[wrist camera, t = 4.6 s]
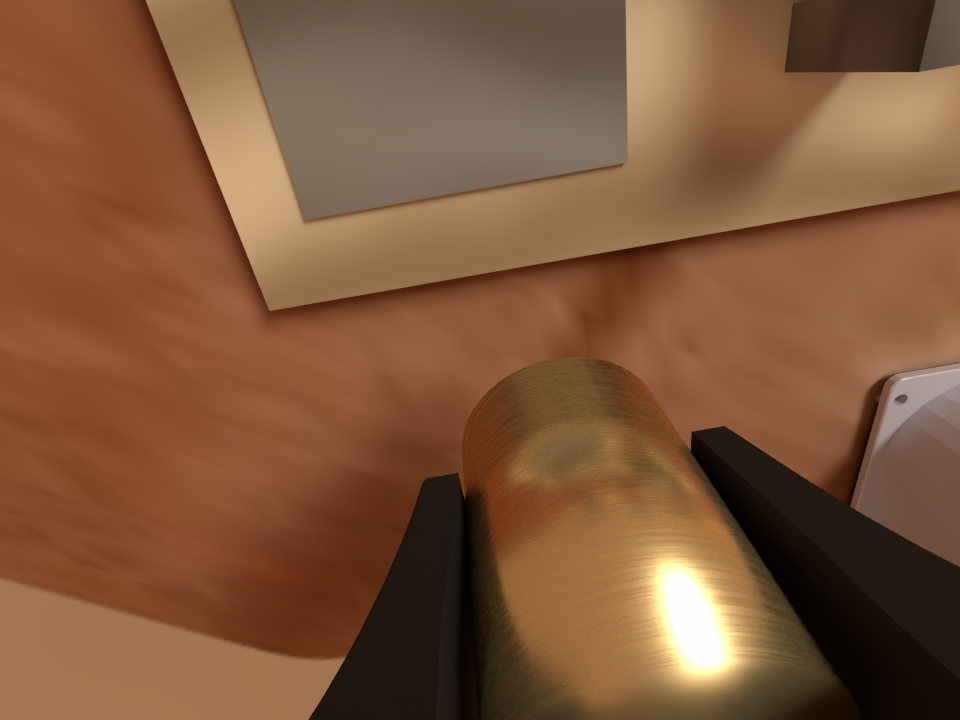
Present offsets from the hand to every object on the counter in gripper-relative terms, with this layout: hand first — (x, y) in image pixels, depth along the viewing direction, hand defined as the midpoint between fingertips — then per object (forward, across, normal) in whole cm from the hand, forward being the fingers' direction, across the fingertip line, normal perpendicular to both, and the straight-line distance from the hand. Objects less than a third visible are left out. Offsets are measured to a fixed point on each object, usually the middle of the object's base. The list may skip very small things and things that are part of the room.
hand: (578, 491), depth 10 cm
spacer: (+2, 0, 0) cm, 2 cm away
